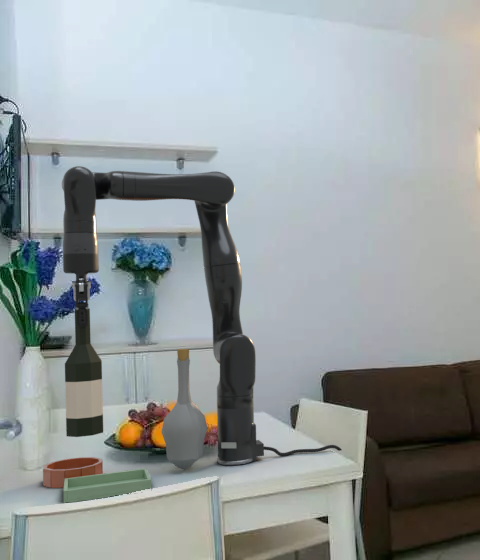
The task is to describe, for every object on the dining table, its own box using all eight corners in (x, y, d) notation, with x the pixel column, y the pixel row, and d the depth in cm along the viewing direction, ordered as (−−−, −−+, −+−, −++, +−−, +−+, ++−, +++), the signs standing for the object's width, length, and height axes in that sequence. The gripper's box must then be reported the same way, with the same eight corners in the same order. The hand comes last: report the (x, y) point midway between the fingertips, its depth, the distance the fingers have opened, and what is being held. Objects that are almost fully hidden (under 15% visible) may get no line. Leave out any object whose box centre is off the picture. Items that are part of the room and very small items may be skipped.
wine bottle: (110, 428, 163) (107, 304, 164) (95, 436, 155) (92, 304, 155) (75, 430, 163) (72, 305, 164) (58, 437, 155) (55, 306, 155)
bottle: (155, 469, 170) (153, 349, 171) (199, 461, 177) (197, 346, 178) (169, 478, 161) (167, 351, 162) (215, 470, 168) (213, 348, 169)
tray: (147, 479, 161) (146, 468, 161) (151, 491, 151) (151, 479, 151) (64, 490, 153) (64, 478, 154) (63, 503, 143) (63, 491, 143)
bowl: (101, 470, 170) (101, 454, 170) (103, 482, 159) (103, 465, 159) (44, 477, 165) (44, 461, 165) (42, 490, 153) (41, 473, 153)
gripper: (98, 250, 155) (100, 326, 155) (97, 254, 168) (99, 324, 167) (61, 251, 152) (63, 328, 151) (63, 254, 164) (65, 326, 164)
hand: (82, 325), depth 159 cm, fingers closed on wine bottle, 3 cm apart
